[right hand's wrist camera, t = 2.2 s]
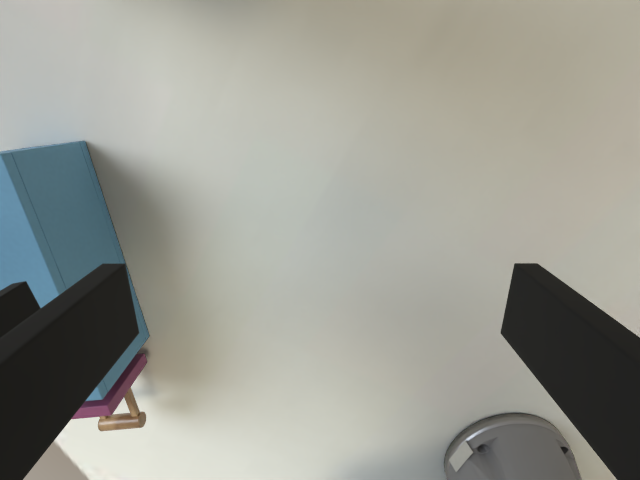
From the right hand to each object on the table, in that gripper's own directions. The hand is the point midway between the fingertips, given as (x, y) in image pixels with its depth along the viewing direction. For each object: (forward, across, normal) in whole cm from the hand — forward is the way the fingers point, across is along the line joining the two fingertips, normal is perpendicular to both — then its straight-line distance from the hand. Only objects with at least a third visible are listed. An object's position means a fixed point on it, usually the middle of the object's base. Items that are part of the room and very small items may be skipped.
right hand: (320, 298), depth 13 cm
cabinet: (+23, +23, +8) cm, 34 cm away
